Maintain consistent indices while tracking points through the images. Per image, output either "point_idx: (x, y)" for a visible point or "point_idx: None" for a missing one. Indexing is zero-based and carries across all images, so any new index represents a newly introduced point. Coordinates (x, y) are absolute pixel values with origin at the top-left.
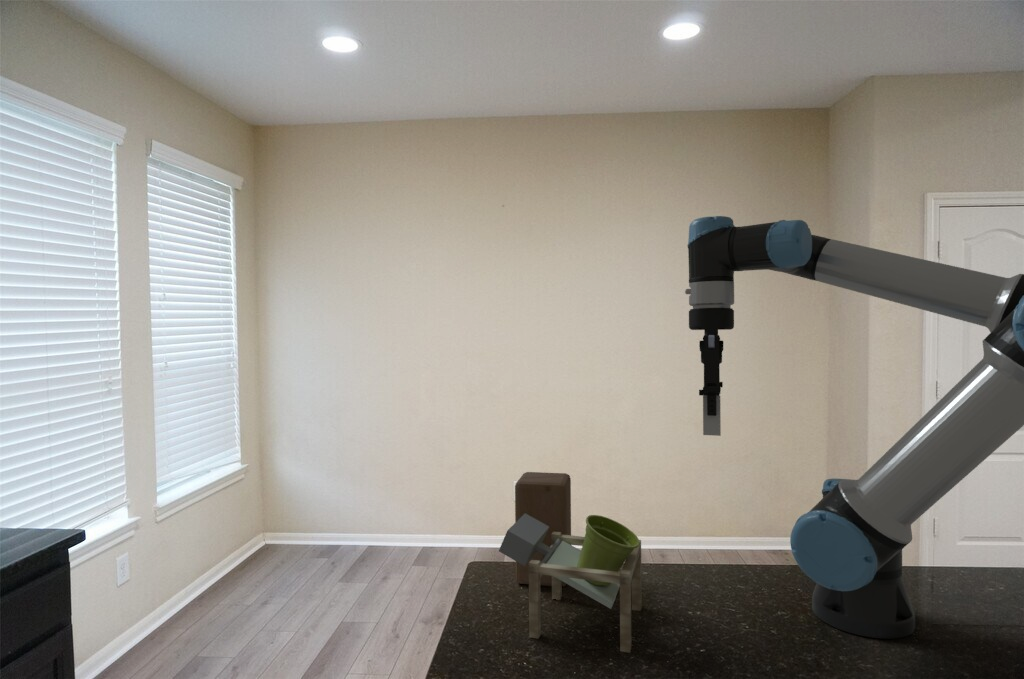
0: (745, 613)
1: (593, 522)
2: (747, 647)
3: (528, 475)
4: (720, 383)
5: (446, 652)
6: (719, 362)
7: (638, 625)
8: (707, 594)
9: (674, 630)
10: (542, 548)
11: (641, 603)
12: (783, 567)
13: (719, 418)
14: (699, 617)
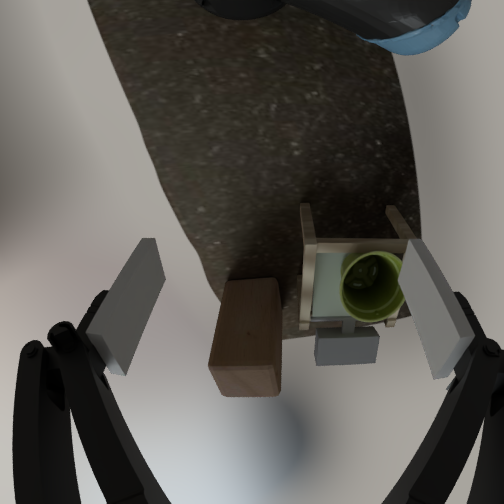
0: (279, 92)
1: (354, 310)
2: (363, 98)
3: (242, 394)
4: (60, 340)
5: (400, 317)
6: (420, 499)
7: (342, 202)
8: (238, 135)
9: (344, 167)
10: (354, 327)
11: (301, 204)
12: (115, 58)
13: (442, 276)
14: (307, 142)
